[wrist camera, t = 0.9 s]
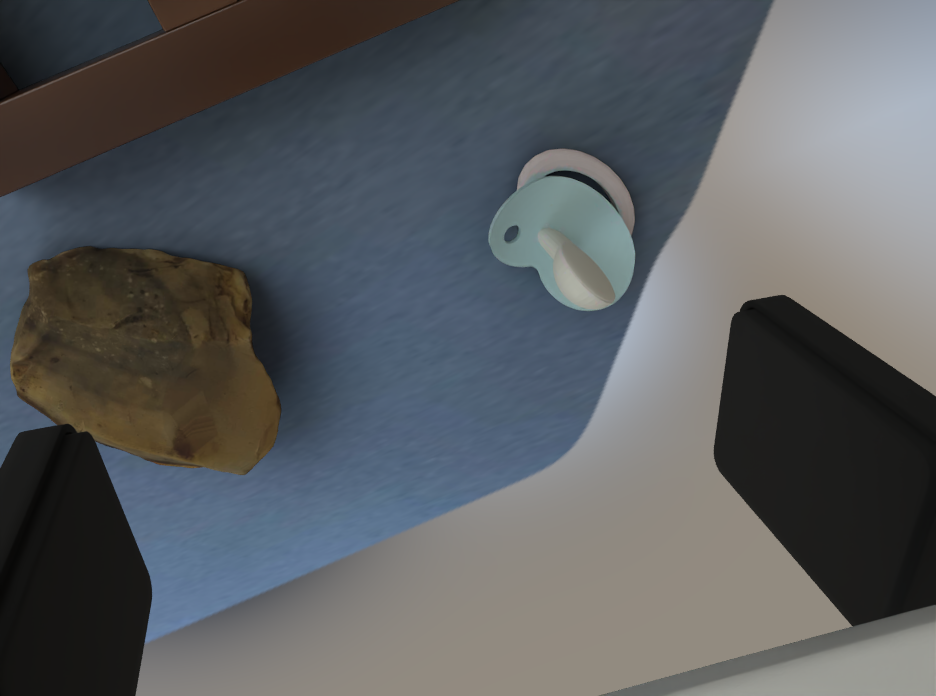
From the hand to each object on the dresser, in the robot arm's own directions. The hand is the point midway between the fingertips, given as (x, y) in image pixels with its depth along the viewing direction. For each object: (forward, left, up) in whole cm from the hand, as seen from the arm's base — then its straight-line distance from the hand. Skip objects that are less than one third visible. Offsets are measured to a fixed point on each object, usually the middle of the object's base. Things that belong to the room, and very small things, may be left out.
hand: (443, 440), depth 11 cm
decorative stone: (+5, -11, -21) cm, 24 cm away
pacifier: (+7, +8, -21) cm, 24 cm away
